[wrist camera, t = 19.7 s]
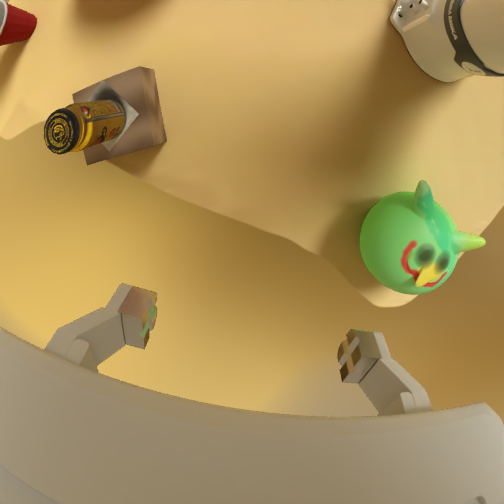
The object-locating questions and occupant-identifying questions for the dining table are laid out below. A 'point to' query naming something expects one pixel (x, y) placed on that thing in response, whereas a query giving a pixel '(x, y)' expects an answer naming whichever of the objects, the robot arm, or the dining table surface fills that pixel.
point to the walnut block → (142, 101)
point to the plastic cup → (15, 24)
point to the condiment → (89, 122)
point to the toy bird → (412, 241)
